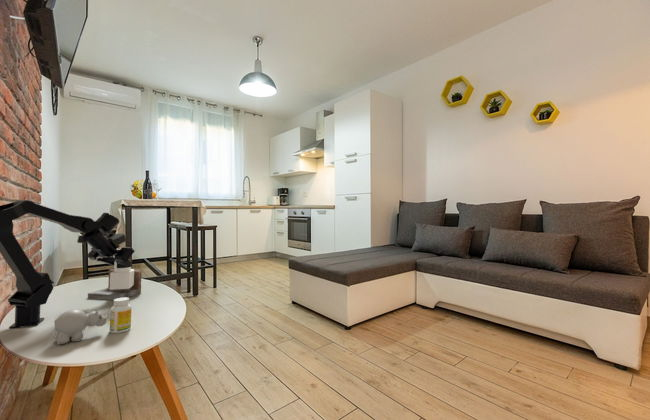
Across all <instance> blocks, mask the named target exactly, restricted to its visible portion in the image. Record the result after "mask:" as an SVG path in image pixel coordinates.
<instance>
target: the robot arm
mask: <svg viewBox="0 0 650 420" xmlns="http://www.w3.org/2000/svg"><path fill="white" fill-rule="evenodd" d="M25 215H28V216H31V217H35V218H39V219H41V220H44V221H48V222H50V223H54V224H57V225H60V226H61V227H62V228H64V229H65V230H68V232H71V233H75V234H76V233H77V234H78V233H80V234H82V235H78V236H77V237H78V238H77V243H78V244H88V245H89V246H90V247H91V248H90V249H91V250H90V251H89V252H88V254H87V258H88V259H89V260H91V261H96V262H99V263H104V264H107V265H111V266H114V262H115V261H116V263H119V264H121V265H124V266H126V267H130V262H129V259H130V258H131V256H133V254H134V253H135V252H136V251H135V249H134V248H133V247H129V246H127V247H126V246H125V247H122V248H120V247H121V246H120V245H122V244H123V243H126V242H127V241H128V240H127V238H126V235H125V233H111V232H112V231H113V230H114V229H115V228H116V227H117V226H118V225H119V224H120V220H119V218H117V217H116V216H114V215H112V214H110V213H109V212H103V213H102V214H101V216H99V218H97V219H96V220H94V219H92V218H91V217H89V216H88V217H87V216H80V215H72V214H68V213H65V212H62V211H59V210H57V209H54V208H51V207H48V206H45V205H42V204H40V203H37V202H34V201H32V200H30V199H29V200H28V199H20V200H15V201H12V202H9V203H5V204H0V255H1V256H2V258H3V259H4V261H5V262H6V264H7V265H8V267H9V268H10V270H11V271H12V272H13V274H14V276H15V277H16V280H15V287H16V291H15V292H14V293H13V294H12V295H11V296H9V298H8V299H7V302H8V304H9V306H14V307H15V308H14V323H12V324H11V325H9V327H8V329H16V328H25V327H33V326H38V325H39V324H40V323H42V322H43V321H44V320H45V317H41V306H42V305H46V303H47V301H48V299H49V297H50V295H51V294H52V293H53V290H54V285H53V284H55V282H54V281H52V279H51V277H50V274H48V272H38V271H37V270H36V268H35V267H34V265H33V263H32V262H31V261H30V259H29V257H28V255H27V253H26V252H25V251H24V248H23V247H22V246H21V244H20V242H19V241H18V239H17V238H16V236H15V234H14V222H13V221H14V220H16V219H20V218H21V217H23V216H25ZM119 248H120V249H119Z"/></svg>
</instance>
